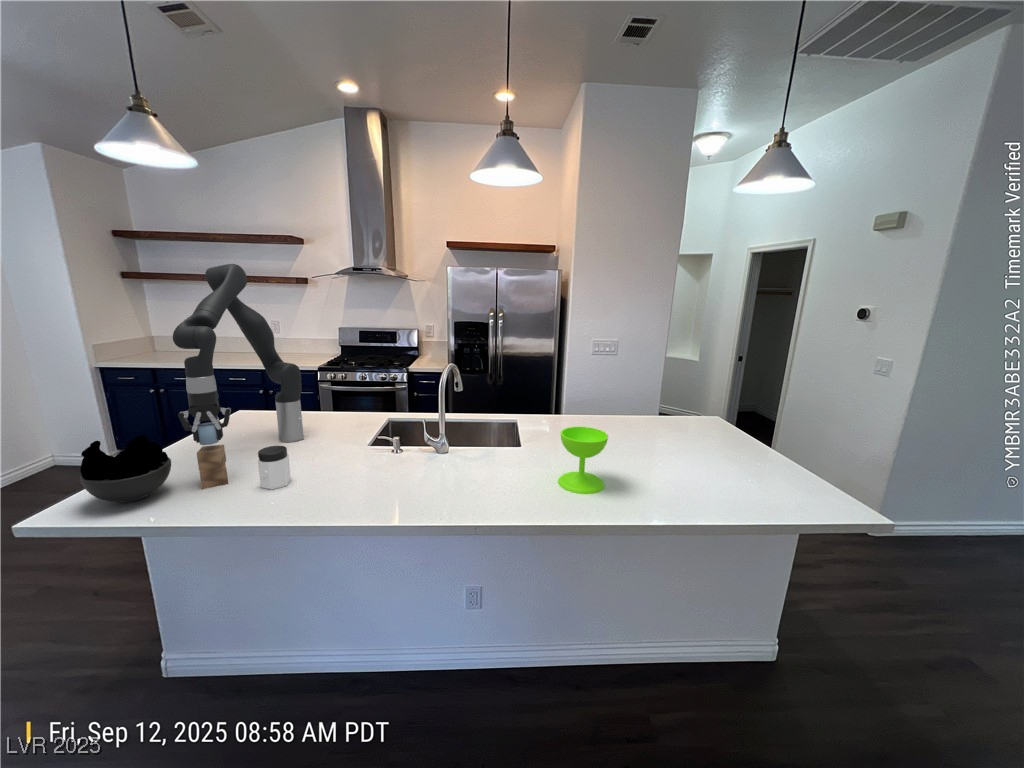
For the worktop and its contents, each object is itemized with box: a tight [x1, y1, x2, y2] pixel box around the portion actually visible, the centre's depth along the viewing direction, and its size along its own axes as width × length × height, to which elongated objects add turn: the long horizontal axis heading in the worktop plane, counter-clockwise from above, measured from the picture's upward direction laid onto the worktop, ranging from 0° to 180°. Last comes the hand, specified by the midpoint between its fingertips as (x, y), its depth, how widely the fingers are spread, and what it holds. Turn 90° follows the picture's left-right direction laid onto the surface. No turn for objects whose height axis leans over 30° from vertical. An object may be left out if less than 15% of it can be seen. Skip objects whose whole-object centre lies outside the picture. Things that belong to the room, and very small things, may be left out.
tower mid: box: [196, 444, 227, 471], centre depth 135 cm, size 6×6×6 cm
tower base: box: [198, 462, 229, 490], centre depth 136 cm, size 7×7×6 cm
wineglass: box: [557, 426, 609, 495], centre depth 141 cm, size 16×16×18 cm
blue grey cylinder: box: [197, 421, 220, 446], centre depth 133 cm, size 5×5×6 cm
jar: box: [257, 445, 292, 491], centre depth 135 cm, size 9×8×12 cm
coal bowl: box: [79, 434, 172, 504], centre depth 123 cm, size 20×20×19 cm
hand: (209, 440), depth 133 cm, fingers closed on blue grey cylinder, 5 cm apart
